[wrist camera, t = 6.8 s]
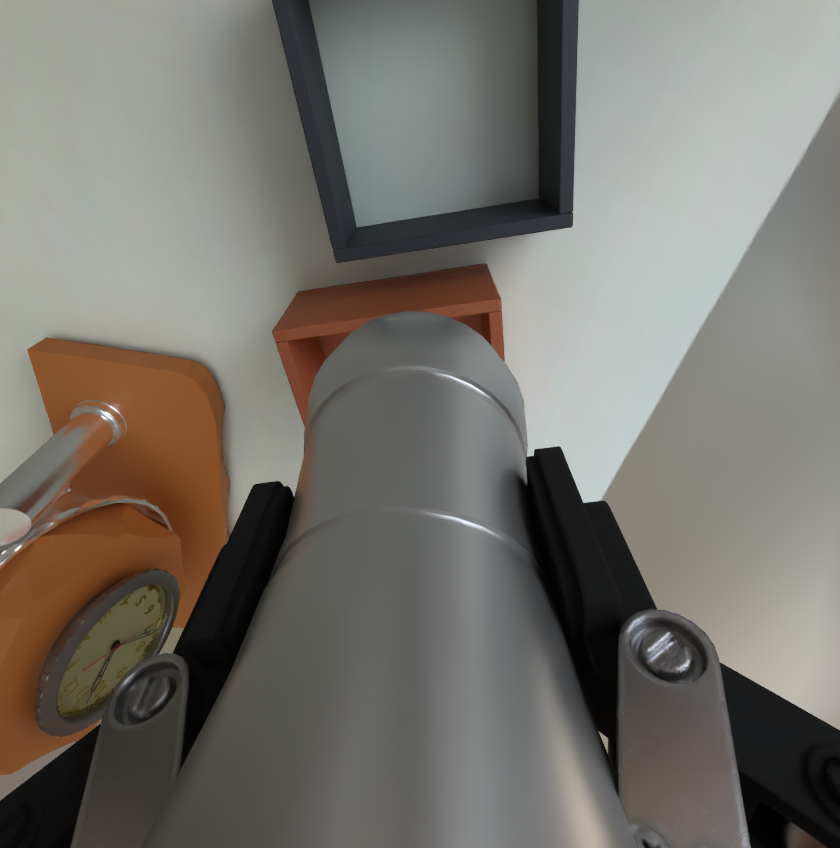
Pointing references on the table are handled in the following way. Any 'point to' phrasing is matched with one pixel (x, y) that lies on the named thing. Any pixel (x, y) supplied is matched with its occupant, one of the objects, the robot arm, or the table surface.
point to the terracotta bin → (361, 302)
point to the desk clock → (103, 534)
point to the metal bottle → (403, 632)
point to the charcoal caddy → (456, 227)
